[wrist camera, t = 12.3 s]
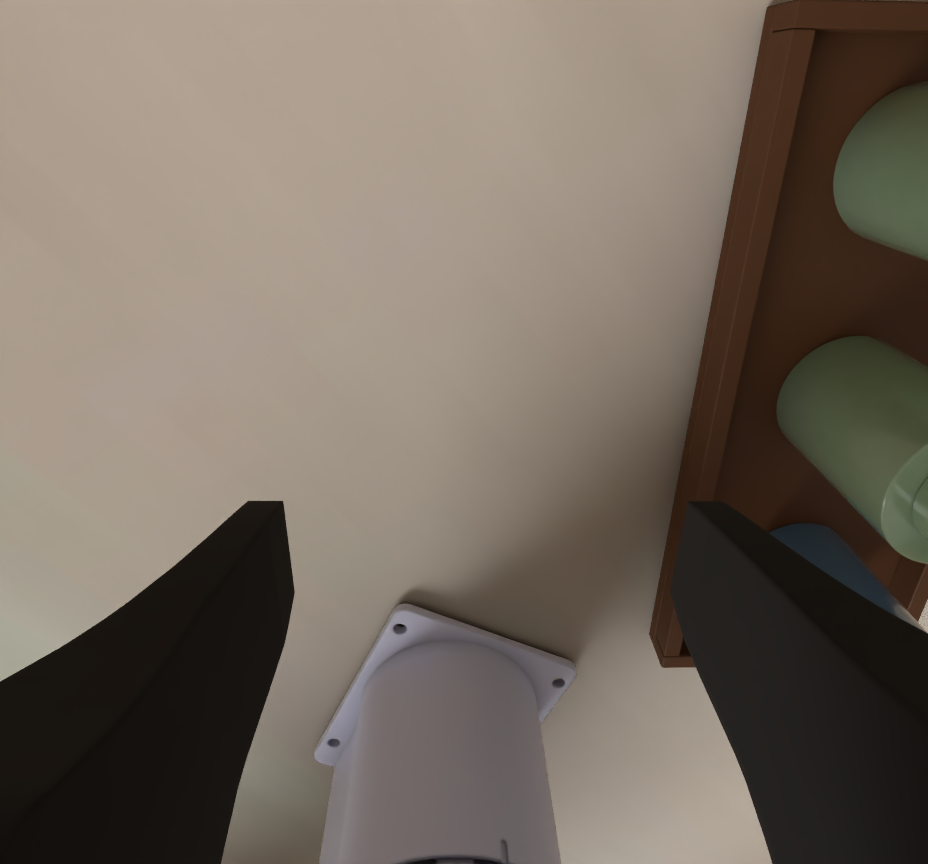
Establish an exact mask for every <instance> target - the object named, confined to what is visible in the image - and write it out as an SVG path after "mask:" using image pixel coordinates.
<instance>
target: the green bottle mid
mask: <svg viewBox="0 0 928 864" xmlns="http://www.w3.org/2000/svg"><path fill="white" fill-rule="evenodd" d="M776 414H777V421H778V424H779V427H780V430H781V432H782V433H783V435H784V436H785V438H786V439H787V440H788V441H789V442H790V443H791V444H792V445H793V446H794V447H795V448H796V449H797V450H798V451H799V452H800V453H801V454H802V455H803V456H804V457H805V458H806V460H807V461H808V462H809V463H810V464H811V465H812V466H813V467H814V468H815V469H816V470H817V471H818V472H819V473H820V474H821V475H822V476H823V477H824V478H825V479H826V480H827V481H828V482H829V483H830V484H831V485H832V486H833V487H834V488H835V489H836V490H837V491H838V492H839V493H840V494H841V495H842V497H843V498H844V499H845V500H846V501H847V502H848V503H849V504H850V505H851V506H852V507H853V508H854V509H855V510H856V511H857V512H858V513H859V514H860V515H861V516H862V517H863V518H864V519H865V520H866V521H867V522H868V523H869V524H870V525H871V526H872V527H873V528H874V529H875V530H876V531H877V532H878V534H879V535H880V536H881V537H882V538H883V539H884V540H885V541H886V542H887V543H888V544H889V545H890V546H891V547H892V548H893V549H894V550H895V551H896V552H898V553H899V554H901V555H902V556H904V557H906V558H908V559H910V560H913V561H916V562H920V563H925V564H928V366H927V365H926V364H924V363H922V362H921V361H919V360H917V359H915V358H914V357H912V356H910V355H908V354H907V353H905V352H903V351H901V350H900V349H898V348H896V347H894V346H893V345H891V344H889V343H888V342H886V341H884V340H881V339H878V338H875V337H870V336H850V337H844V338H840V339H836V340H833V341H831V342H828V343H826V344H823V345H822V346H820V347H818V348H816V349H815V350H813V351H812V352H810V353H809V354H807V355H806V356H805V357H804V358H803V359H801V360H800V361H799V362H798V363H797V365H796V366H795V367H794V368H793V369H792V370H791V372H790V373H789V374H788V376H787V378H786V379H785V381H784V383H783V385H782V387H781V389H780V392H779V395H778V400H777V408H776Z"/></svg>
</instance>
